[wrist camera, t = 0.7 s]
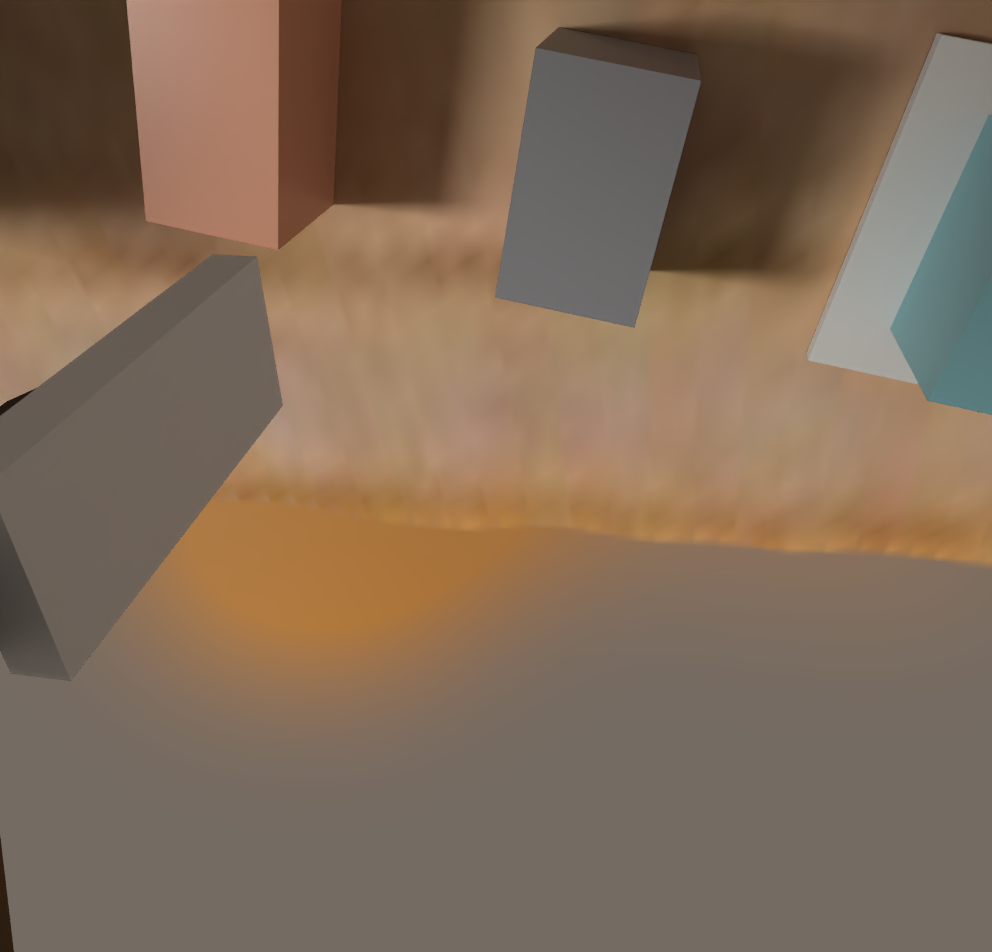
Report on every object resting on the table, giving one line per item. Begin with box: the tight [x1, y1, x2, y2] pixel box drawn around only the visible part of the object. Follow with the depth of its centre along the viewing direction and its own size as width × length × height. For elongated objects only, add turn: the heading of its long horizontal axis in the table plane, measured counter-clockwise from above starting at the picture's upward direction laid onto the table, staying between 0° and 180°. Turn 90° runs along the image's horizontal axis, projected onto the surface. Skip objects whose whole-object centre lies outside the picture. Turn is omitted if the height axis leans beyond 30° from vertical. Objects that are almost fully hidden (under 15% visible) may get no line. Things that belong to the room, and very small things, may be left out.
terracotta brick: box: [126, 0, 342, 250], centre depth 30 cm, size 5×8×6 cm, turn 171°
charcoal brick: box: [495, 27, 701, 328], centre depth 30 cm, size 5×8×6 cm, turn 171°
